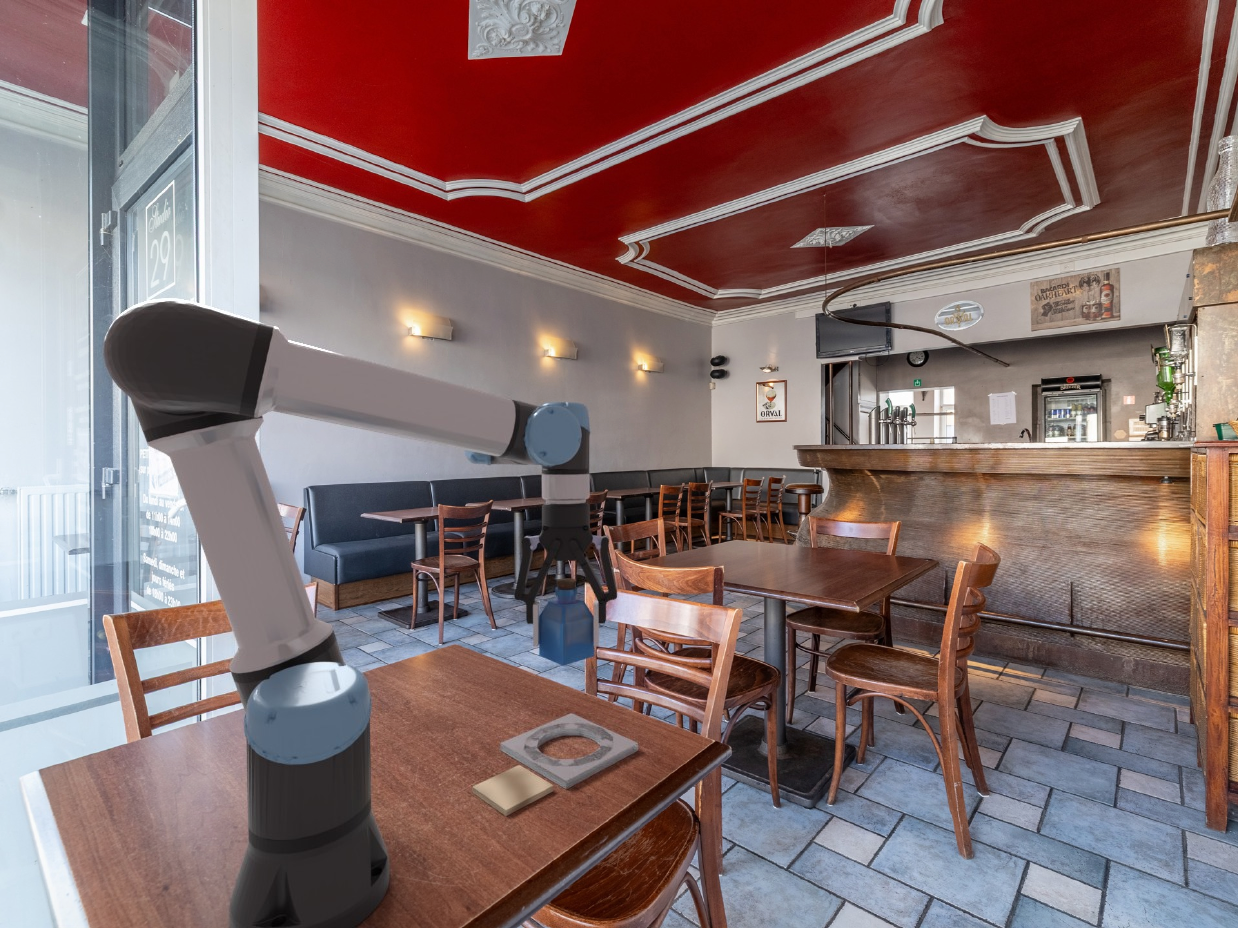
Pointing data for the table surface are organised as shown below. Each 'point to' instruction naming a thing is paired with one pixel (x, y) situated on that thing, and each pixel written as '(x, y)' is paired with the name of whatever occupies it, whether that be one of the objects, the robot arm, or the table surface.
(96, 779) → the table surface
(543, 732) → the eye plate
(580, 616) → the perfume bottle
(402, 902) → the table surface
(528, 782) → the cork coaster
